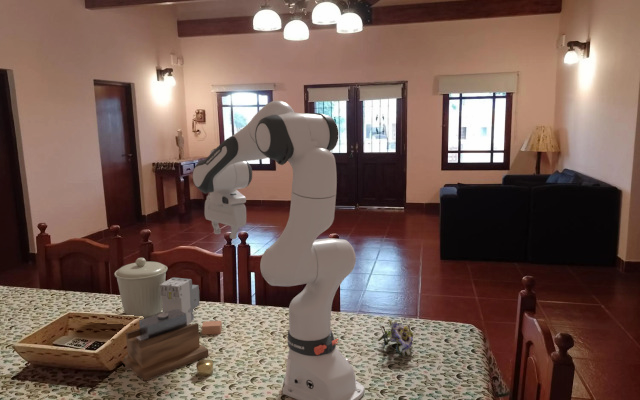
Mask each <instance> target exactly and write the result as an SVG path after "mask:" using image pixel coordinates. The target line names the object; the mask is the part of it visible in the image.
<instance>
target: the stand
mask: <svg viewBox="0 0 640 400" xmlns="http://www.w3.org/2000/svg"><path fill="white" fill-rule="evenodd" d="M189 324H190V325H189V326H186V327H183V328H180V329H177V330H174V331H171V332H168V333H165V334H162V335H159V336H156V337H153V338H150V339H147V340H144V341H141V342H138V341H137V340H136V337H138V336H140V328H137V329H134V330H131V331H127V332H126V333H125V335H126V348H127V350H126V352H128V355H126V356H125V357H124V360H123V362H122V364H124V365H125V366H126V367H128V368H129V370H131V371H132V372H133V373H135V374H136V375H137V376H138V377H139V378H140V379H141V380H142V381H144V382H146V381H149V380H151V379H154V378H156V377H158V376H161V375H163V374H166V373H169V372H171V371H174V370H176V369H179V368H182V367H184V366H186V365H188V364H192V363H194V362H196V361H200V360H203V359H204V358H206V357H209V349H208V348H207V347H205V346H203V345H201V343H200V329H199V326H200V325H199V323H198V322H195V323H192V324H191V322H190V323H189Z"/></svg>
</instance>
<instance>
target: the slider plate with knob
mask: <svg viewBox="0 0 640 400" xmlns="http://www.w3.org/2000/svg"><path fill="white" fill-rule="evenodd" d="M138 321H139V322H138V324H139V329H140V336H138V337H136V340H137V341H138V342H141V341H144V340H147V339H150V338H153V337H156V336H159V335H162V334H165V333H168V332H171V331H174V330H177V329H180V328H183V327H186V326H189V325H190V324H191V323H190V324H189V323H188V322H187V318H186V313H184V312H182V311H180V310H179V309H175V310H171V311H168V312H163V311H161V312H160V313H158V314H156V315H154V316H152V317H147V318H141V319H140V320H138Z"/></svg>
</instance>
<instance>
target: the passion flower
mask: <svg viewBox="0 0 640 400" xmlns="http://www.w3.org/2000/svg"><path fill="white" fill-rule="evenodd" d="M388 323H389V326H390V328H391V329H390V330H389V329H388V330H386V328H385V326H384V325H382V326H381V327H380V329H381V332H382V335H381V336H380V337H379V338H378V339H377V342H380V341H381V340H383V345H382V349H384V348H385V346H388V344H389V343H390V342H391V343H394V342H395V343H396V344H397V345H396V348H395V351H396V352H397V353H398V354H400V355H402V356H403V357H404V356H410V355H411V354H410V353H411V352H410V349H411V348H413V347H414V345H413V342H414V333H413V332H412V331H411V326H410V325H407V326H405V325H402V324H403V323H398V320H397V319H395V320H394V322H392V320H390V319H389V321H388Z"/></svg>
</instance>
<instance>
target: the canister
mask: <svg viewBox="0 0 640 400" xmlns="http://www.w3.org/2000/svg"><path fill="white" fill-rule="evenodd" d="M167 271H168V266H167V265H165V264H163V263H161V262H158V261H147V260H146V259H145V258H144V257H138V258H137V259H136V260H135V262H132V263H128V264H125V265H122V266H121V267H119V268H118V269H117V270H116V271H115V272H114V277H115V278H116V280H117V285H118V290H119V294H120V299H121V304H122V308H123V310H124V311H123V312H124V313H125V315H126V316H127V315H134V316H143V317H144V318H143V319H145V318H148V317H152V316H155V315H158V313H160V312H162V311H163V307H162V297H160V289H161V286H160V284H162V283H164V282H165V281H166V276H167V274H166V273H167ZM161 294H162V292H161Z"/></svg>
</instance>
